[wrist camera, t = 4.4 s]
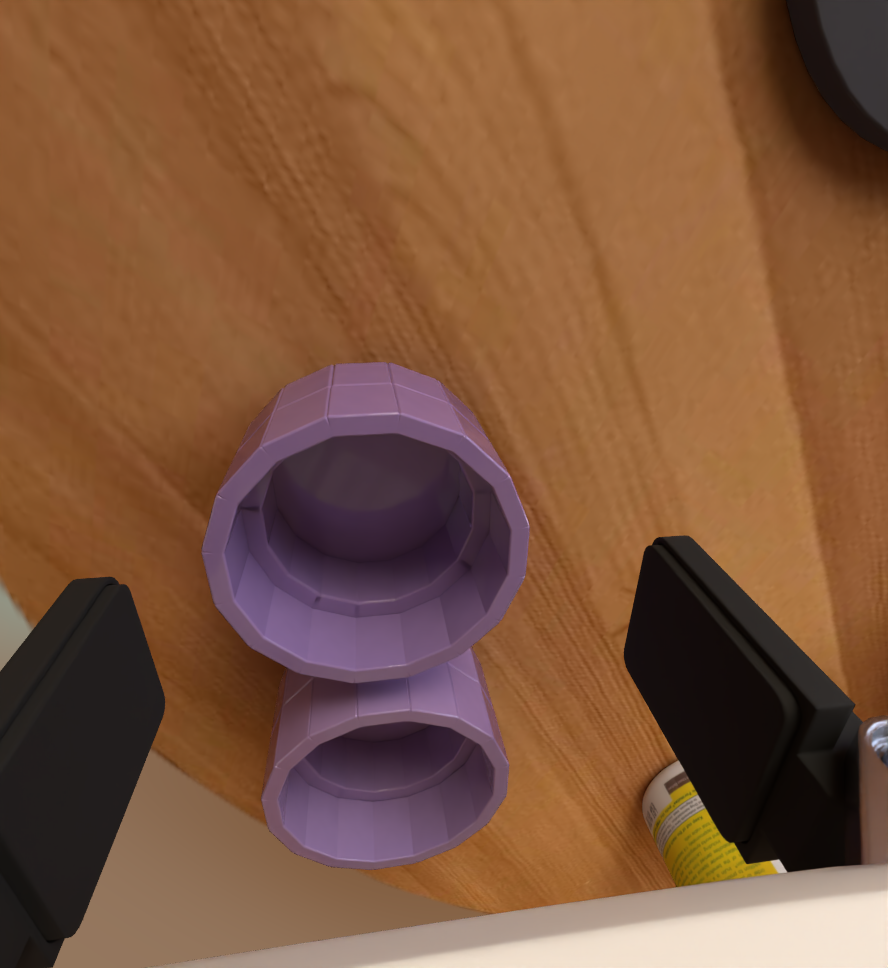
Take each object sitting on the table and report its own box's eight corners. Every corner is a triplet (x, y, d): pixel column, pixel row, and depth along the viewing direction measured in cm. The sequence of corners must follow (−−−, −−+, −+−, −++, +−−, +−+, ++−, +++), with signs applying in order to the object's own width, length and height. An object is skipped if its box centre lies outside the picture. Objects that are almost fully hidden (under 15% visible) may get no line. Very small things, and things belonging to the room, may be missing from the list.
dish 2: (294, 753, 20) (280, 885, 16) (268, 610, 17) (243, 729, 13) (474, 730, 21) (502, 850, 17) (480, 590, 18) (515, 697, 14)
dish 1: (263, 582, 17) (235, 698, 13) (222, 360, 14) (168, 423, 10) (481, 563, 18) (518, 666, 14) (490, 351, 15) (541, 405, 11)
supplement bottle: (624, 826, 26) (768, 1154, 17) (653, 748, 24) (839, 1083, 15) (728, 815, 27) (917, 1120, 18) (766, 738, 24) (1008, 1047, 15)
